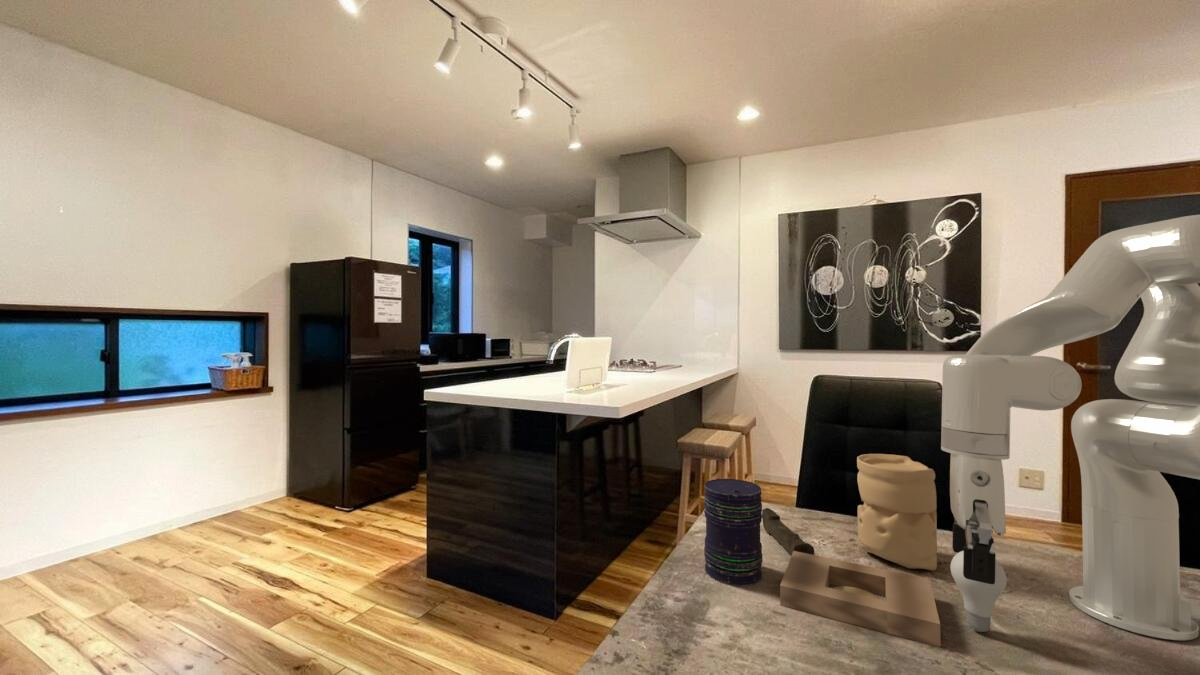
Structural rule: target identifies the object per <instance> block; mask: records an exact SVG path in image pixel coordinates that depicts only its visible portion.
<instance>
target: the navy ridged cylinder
mask: <svg viewBox="0 0 1200 675" xmlns="http://www.w3.org/2000/svg"><path fill="white" fill-rule="evenodd" d="M704 490H705V491H704V499H703V504H704V506H703V507H704V511H703V512H704V518H705V537H704V547H703V548H704V549H703V550H704V551H703V554H704V561H705V565H704V571H706V572H705V573H706V575H707V574H708V575H709V576H710V577H709V576H708V575H707V576H708V577H709V578H711V579H712V578H713V580H714V579H715V580H714V581H716V580H717V581H716V582H718V581H719V583H722V584H724V585H729V586H733V587H734V586H735V587H736V586H737V587H745V586H747V587H748V586H752V585H755V584H757V583H759V582H760V581H761V580H762V578H763V572H762V568H763V553H762V552H763V551H762V549H763V548H762V547H763V546H762V543H761V523H762V522H763V519H762V510H763V504H762V488H761V486H760V485H758V484H757V483H754V482H751V481H747V480H742V479H735V478H734V479H733V478H716V479H711V480H707V481H706V482H705V483H704Z"/></svg>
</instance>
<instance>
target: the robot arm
mask: <svg viewBox="0 0 1200 675" xmlns="http://www.w3.org/2000/svg"><path fill="white" fill-rule="evenodd" d="M1199 284H1200V214H1195V215H1194V214H1193V215H1187V216H1186V215H1185V216H1180V217H1176V218H1170V219H1165V220H1159V221H1156V222H1155V221H1154V222H1150V223H1145V224H1144V223H1143V224H1139V225H1133V226H1129V227H1124V228H1120V229H1116V230H1113V231H1109V232H1107V233H1105V234H1103V235H1101V236H1100V237H1098V238H1097V239H1096V240H1094V242H1092V243H1091V245H1090V246H1088V248H1086V250H1085V251H1084V253H1083V254H1082V255H1081V256H1080V257H1079V258H1078V260H1077V261H1076V262H1075V263H1074V264H1073V266H1072V267H1071V268H1070V269H1069V271H1068V272H1067V273H1066V274H1065V275H1064V276H1063V277H1062V279H1061V280H1060V281H1059V282H1058V283H1057V284H1056V286H1055V287H1054V288H1053V289H1052V290H1051V291H1050V292H1049V294H1048V295H1046V296H1045V297H1044V298H1042V299H1040V300H1038V301H1036V302H1034V303H1032V304H1030V305H1029V306H1026V307H1024V308H1022V309H1021V310H1019V311H1017V312H1016V313H1014V314H1013V315H1011V316H1009V317H1007V318H1005V319H1004V320H1001V321H1000V322H998V323H997V324H995V325H994V326H992V327H991V328H989V329H988V330H986V331H985V332H984V333H983V334H982V335H981V336H980V337H979V338H978V339H977V340H976V342H975V343H974V344H973V345H972V346H971V347H970V349H969V350H968V351H967V352H966V353H965V354H954V355H950V356H948V357H946V358H945V360H944V361H943V364H942V388H941V389H942V391H941V392H942V393H941V428H940V430H941V434H940V436H941V437H940V438H941V439H940V441H941V442H940V450H941V451H943V452H946V453H949V454H950V462H949V463H950V464H949V467H950V468H949V497H950V510H951V513H952V514H953V521H954V522H953V523H952V547H951V548H952V551H953V552H955V553H956V554H957V553H959V552H961V551H964V557H963V575H964V577H965V578H966V579H970V580H974V581H979V582H983V583H988V584H994V583H995V559H996V558H997V557H996V549H995V548H996V547H995V540H994V532H995V533H996V534H997V535H998V537H999V536H1001V537H1002V536H1004V535H1005V534H1007V530H1006V528H1007V527H1006V525H1007V523H1006V500H1005V498H1006V497H1005V496H1006V495H1005V477H1004V467H1003V460H1005V461H1006V460H1009V459H1010V453H1011V452H1010V450H1011V449H1010V448H1011V408H1012V407H1013V408H1018V409H1019V408H1020V409H1023V410H1024V409H1025V410H1026V409H1027V410H1033V411H1042V412H1043V411H1044V412H1045V411H1056V410H1060V409H1062V408H1066V407H1068V406H1070V405H1071V404H1072V403H1074V402H1075V401H1076V400H1077V399H1078V398H1079V396H1080V394H1081V391H1082V388H1083V387H1082V386H1083V384H1082V379H1081V375H1080V374H1079V372H1077V369H1076V368H1074V367H1073V366H1072V365H1070V364H1069V363H1067V362H1066V361H1064V360H1061V359H1059V358H1055V357H1051V356H1045V355H1044V356H1042V355H1036V354H1038V353H1040V352H1043V351H1046V350H1048V349H1051V348H1054V347H1058V346H1064V345H1066V344H1070V343H1076V342H1078V341H1082V340H1086V339H1089V338H1092V337H1095V336H1098V335H1101V334H1104V333H1106V332H1108V331H1111V330H1113V329H1115V328H1116V327H1117V326H1118V325H1119V324H1120V323H1121V321H1122V320H1123V319H1124V318H1125V317H1126V315H1127V314H1128V313H1129V312H1130V310H1131V309H1132V307H1133V306H1134V305H1135V304H1136V303H1137V301H1138V300H1139V299H1141V301H1142V304H1143V316H1142V318H1141V319H1140V320H1141V321H1140V323H1139V325H1138V327H1136V328H1137V329H1136V330H1135V332H1134V334H1133V336H1132V338H1131V340H1130V341H1129V343H1128V345H1127V346H1126V348H1125V350H1124V352H1123V354H1122V356H1121V357H1120V359H1119V362H1118V363H1117V366H1116V369H1115V373H1114V384H1115V386H1116V387H1117V389H1118V390H1119V391H1120V392H1121V393H1123V394H1125V395H1127V396H1128V397H1131V398H1132V399H1136V400H1131V399H1117V398H1115V399H1114V398H1109V399H1107V398H1106V399H1097V400H1093V401H1090V402H1087V403H1084V404H1083V405H1081V406H1080V407H1078V408H1077V409H1076V410H1075V412H1074V414H1073V415H1072V418H1071V423H1070V431H1071V436H1072V439H1073V443H1074V447H1075V451H1076V454H1077V458H1078V463H1079V469H1080V480H1081V521H1082V522H1081V523H1082V526H1081V529H1082V532H1081V533H1082V536H1081V537H1082V576H1083V578H1082V583H1083V584H1082V585H1079V586H1074V587H1072V588H1071V589H1069V592H1068V593H1069V594H1068V595H1069V600H1070V602H1071V603H1072V604H1073V605H1074V606H1075V607H1076V608H1077V609H1078V610H1080V611H1081V612H1083V613H1085V614H1087V615H1088V616H1091V617H1092V618H1095V619H1097V620H1099V621H1101V622H1103V623H1106V624H1108V625H1110V626H1114V627H1116V628H1118V629H1119V628H1120V629H1122V630H1124V631H1125V630H1126V631H1129V632H1132V633H1135V634H1139V635H1143V636H1147V637H1151V638H1155V639H1156V638H1157V639H1163V640H1170V641H1171V640H1172V641H1191V640H1195V639H1197V638H1198V637H1199V636H1200V627H1199V625H1198V623H1197V622H1200V600H1198V599H1193V598H1187V597H1186V596H1184V595H1183V594H1182V593H1181V579H1180V578H1181V576H1180V571H1181V570H1180V525H1179V524H1180V523H1179V522H1180V521H1179V519H1180V513H1179V510H1180V509H1179V503H1178V499H1177V497H1176V495H1175V492H1174V490H1173V489H1172V487H1171V485H1170V484H1169V483H1168V481H1167V480H1166V479H1165V477H1164V476H1163V475H1162V473H1163V474H1170V475H1174V476H1180V477H1186V478H1190V479H1196V480H1200V285H1199ZM993 531H994V532H993ZM996 560H997V559H996Z"/></svg>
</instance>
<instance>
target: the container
mask: <svg viewBox="0 0 1200 675" xmlns="http://www.w3.org/2000/svg"><path fill="white" fill-rule="evenodd" d="M856 467H857V469H858V472H857V475H856V476H857V478H856V479H857V485H858V487H857V488H858V491H859V495H860V499H861V502H863V504H859V505H857V537H858V542H859V544H860V548H861V549H862V550H863V551H864V552H866V553H870V554H873V555H875V556H878V557H880V558H882V559H883V560H886V561H889V562H891V563H894V564H897V565H899V566H902V567H904V568H907V569H909V570H914V569H915V570H916V569H923V570H927V571H932V572H934V571H936V570H937V568H938V557H937V552H938V551H937V550H938V539H937V537H938V535H937V534H938V532H937V530H938V529H937V523H938V522H937V518H938V514H937V488H936V483H935V480H936V473H935V471H934V469H933V468H929V467H928V466H926V465H925V464H923V463H921V462H919V461H914V460H912V459H911V457H909V456H907V455H900V454H898V455H897V454H888V453H887V454H886V453H867V454H861V455H859V456H857V457H856Z"/></svg>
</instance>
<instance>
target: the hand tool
mask: <svg viewBox="0 0 1200 675" xmlns="http://www.w3.org/2000/svg"><path fill="white" fill-rule="evenodd" d="M761 513H762V526H763V529H764V530H765V532H766V535H768V534H769V535H768V536H771V535H772V537H773V538H774V539H775V541H776V542H778V543H779V544H780V545H781V546H782V547H783V548H784V550H786V551H787V552H788V554H789V555H790V556H792V553H793V551H797V552H802V553H807V554H812V555H815V548H814V546H813V545H812V544H810V543H808V542H805V541H804V540H803V539H802V538H801V537H800V536H799V534H798V533H796V532H794V531H793V530H791V529H790V528H789V527H788V526H787V525H785V524H784V523H783V522H782V520H781V516H780V515H778V514H777V512H775V511H774V510H772V508H769V507H766V508H762V512H761Z"/></svg>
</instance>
